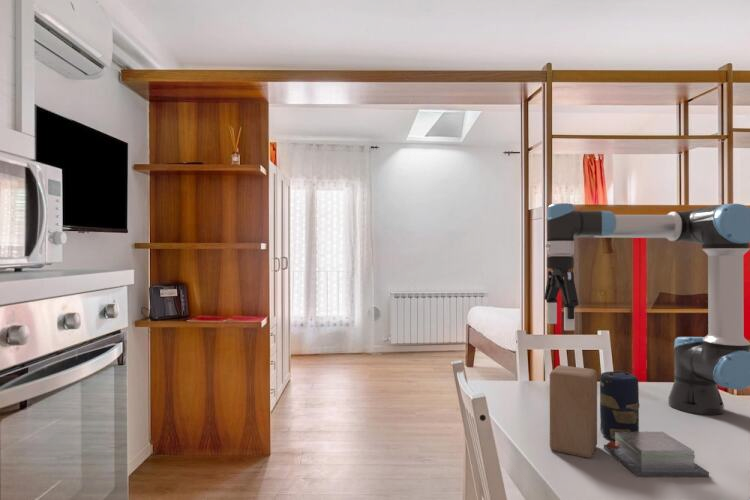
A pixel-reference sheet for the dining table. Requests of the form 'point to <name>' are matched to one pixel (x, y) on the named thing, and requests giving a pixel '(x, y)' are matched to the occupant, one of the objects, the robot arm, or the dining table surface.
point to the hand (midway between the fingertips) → (560, 326)
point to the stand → (654, 455)
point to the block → (573, 410)
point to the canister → (618, 403)
